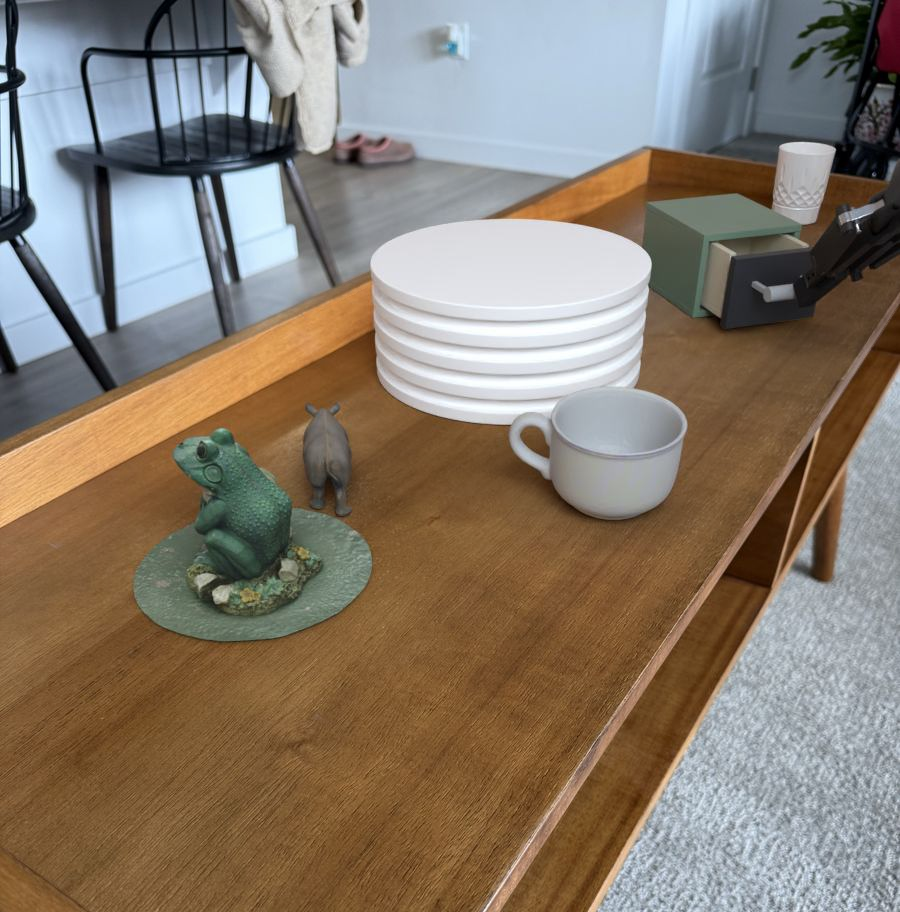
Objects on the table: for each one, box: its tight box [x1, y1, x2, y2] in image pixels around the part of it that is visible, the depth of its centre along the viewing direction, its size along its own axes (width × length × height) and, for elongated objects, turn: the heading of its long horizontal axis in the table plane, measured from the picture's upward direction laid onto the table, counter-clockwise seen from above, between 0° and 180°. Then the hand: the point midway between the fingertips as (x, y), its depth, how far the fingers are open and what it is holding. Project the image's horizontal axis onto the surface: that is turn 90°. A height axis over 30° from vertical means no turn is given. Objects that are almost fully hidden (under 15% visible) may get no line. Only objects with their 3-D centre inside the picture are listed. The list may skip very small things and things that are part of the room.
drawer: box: [700, 233, 817, 330], centre depth 111 cm, size 18×11×8 cm, turn 17°
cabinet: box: [641, 193, 803, 319], centre depth 118 cm, size 15×13×10 cm
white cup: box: [771, 141, 837, 226], centre depth 143 cm, size 8×8×10 cm
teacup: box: [508, 386, 688, 521], centre depth 79 cm, size 14×11×8 cm
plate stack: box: [369, 218, 652, 426], centre depth 100 cm, size 28×28×12 cm
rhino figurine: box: [301, 402, 353, 517], centre depth 83 cm, size 4×14×6 cm, turn 9°
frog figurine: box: [132, 427, 373, 642], centre depth 70 cm, size 18×18×12 cm
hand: (802, 295), depth 103 cm, fingers closed
